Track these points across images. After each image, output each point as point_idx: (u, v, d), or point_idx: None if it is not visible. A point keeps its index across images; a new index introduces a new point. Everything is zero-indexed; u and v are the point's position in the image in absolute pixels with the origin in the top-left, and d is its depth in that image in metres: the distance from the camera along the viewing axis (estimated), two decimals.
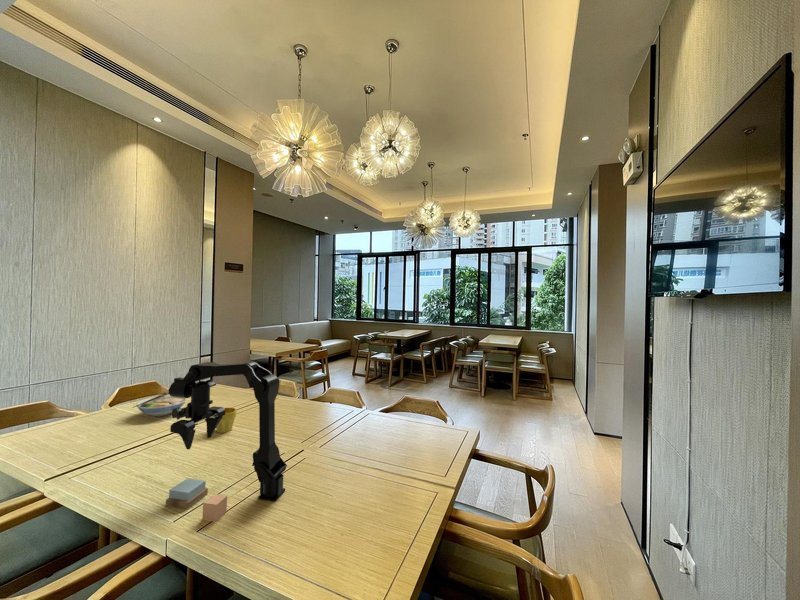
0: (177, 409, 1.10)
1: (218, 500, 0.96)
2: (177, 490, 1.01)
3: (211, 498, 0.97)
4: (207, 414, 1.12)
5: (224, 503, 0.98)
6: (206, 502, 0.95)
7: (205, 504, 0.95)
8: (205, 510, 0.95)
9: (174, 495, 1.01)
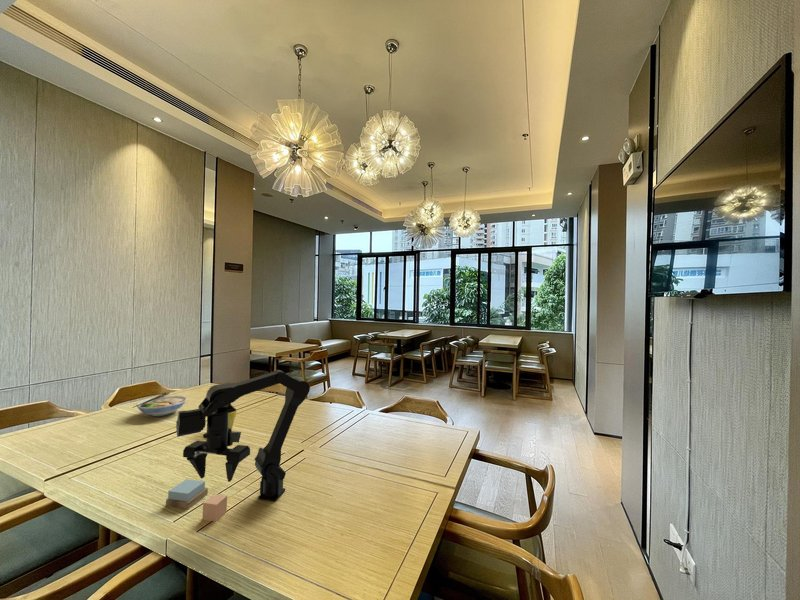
0: None
1: (218, 500, 0.96)
2: (176, 491, 1.01)
3: (211, 498, 0.97)
4: (210, 449, 0.94)
5: (224, 503, 0.98)
6: (206, 502, 0.95)
7: (205, 504, 0.95)
8: (205, 510, 0.95)
9: (173, 496, 1.01)
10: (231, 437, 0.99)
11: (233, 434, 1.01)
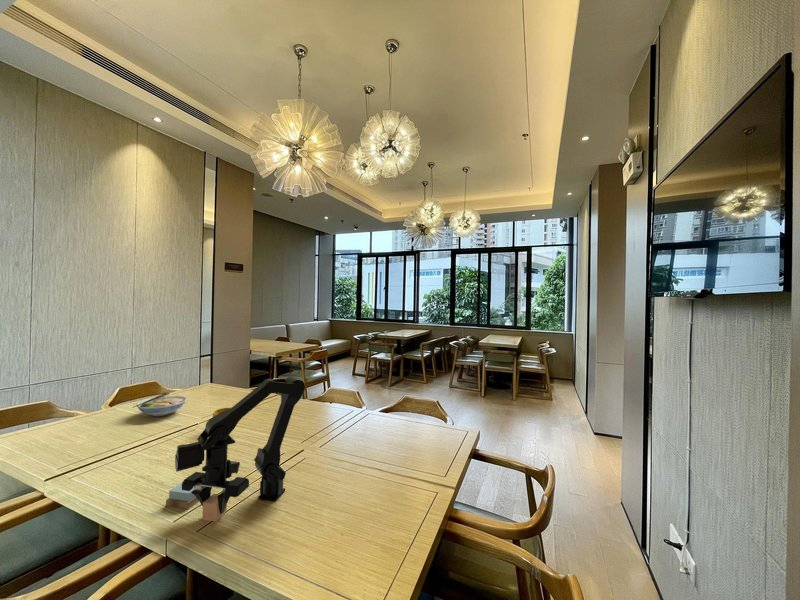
0: None
1: None
2: (177, 491, 1.01)
3: (211, 498, 0.97)
4: (209, 483, 0.94)
5: None
6: (206, 502, 0.95)
7: (205, 503, 0.95)
8: (205, 510, 0.95)
9: (174, 496, 1.01)
10: (230, 469, 0.99)
11: (232, 465, 1.01)
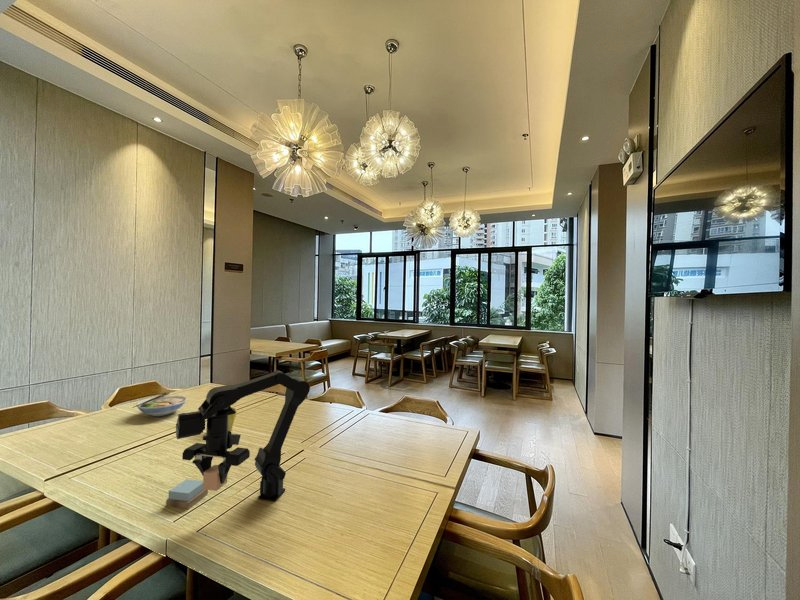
0: None
1: (218, 470, 0.96)
2: (176, 491, 1.01)
3: (211, 468, 0.97)
4: (210, 452, 0.94)
5: None
6: (207, 471, 0.95)
7: (206, 473, 0.95)
8: (206, 479, 0.95)
9: (174, 496, 1.01)
10: (230, 440, 0.99)
11: (233, 436, 1.01)
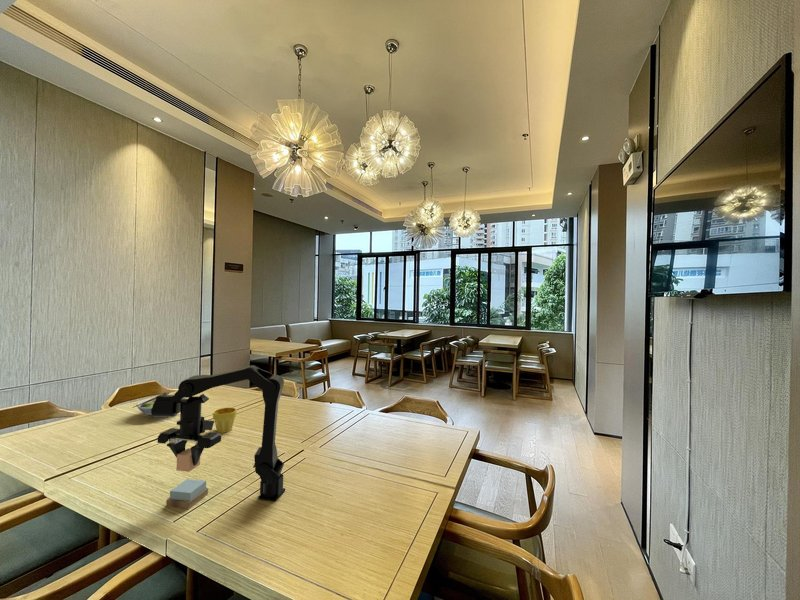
0: None
1: None
2: (178, 491, 1.01)
3: (185, 451, 1.04)
4: (183, 435, 1.01)
5: None
6: (180, 454, 1.02)
7: (179, 455, 1.02)
8: (179, 461, 1.02)
9: (175, 496, 1.01)
10: (203, 425, 1.06)
11: (206, 422, 1.08)
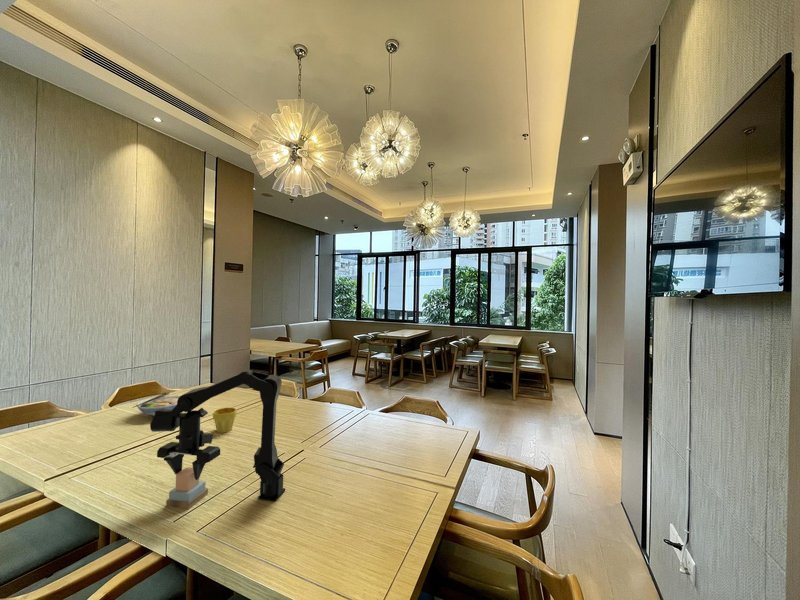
0: None
1: (190, 472, 1.03)
2: (177, 492, 1.01)
3: (184, 470, 1.04)
4: (182, 450, 1.01)
5: None
6: (179, 473, 1.02)
7: (178, 475, 1.02)
8: (178, 481, 1.02)
9: (174, 497, 1.01)
10: (202, 438, 1.06)
11: (205, 436, 1.08)
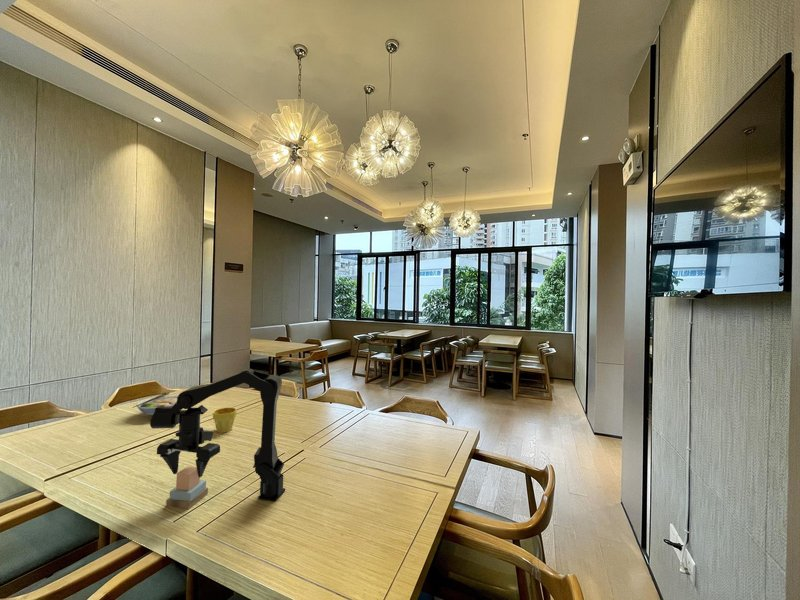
0: None
1: (191, 471, 1.03)
2: (178, 491, 1.01)
3: (185, 469, 1.04)
4: (182, 447, 1.01)
5: (197, 474, 1.05)
6: (180, 472, 1.02)
7: (179, 474, 1.02)
8: (179, 480, 1.02)
9: (175, 496, 1.01)
10: (202, 436, 1.06)
11: (205, 433, 1.08)
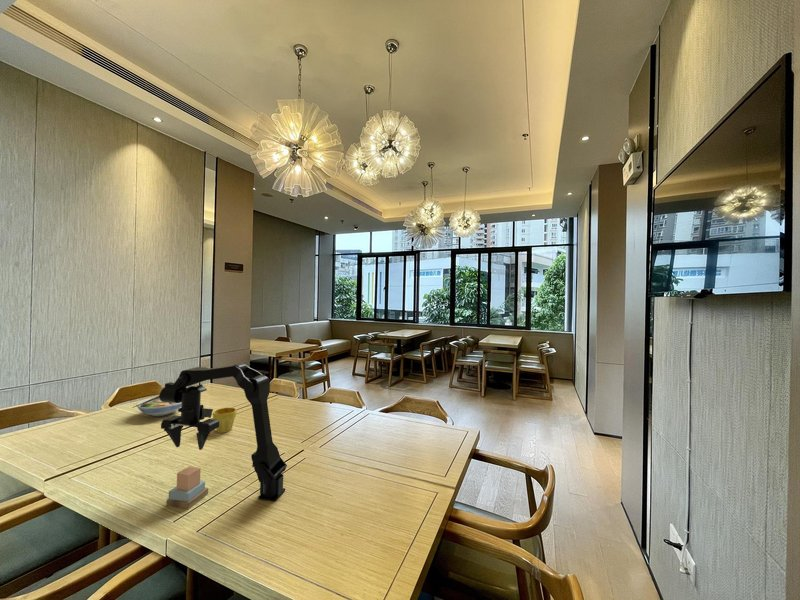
0: None
1: (191, 471, 1.03)
2: (176, 491, 1.01)
3: (185, 469, 1.04)
4: (184, 421, 1.10)
5: (197, 475, 1.05)
6: (180, 472, 1.03)
7: (179, 474, 1.02)
8: (179, 480, 1.02)
9: (174, 496, 1.01)
10: (203, 412, 1.15)
11: (205, 410, 1.17)
